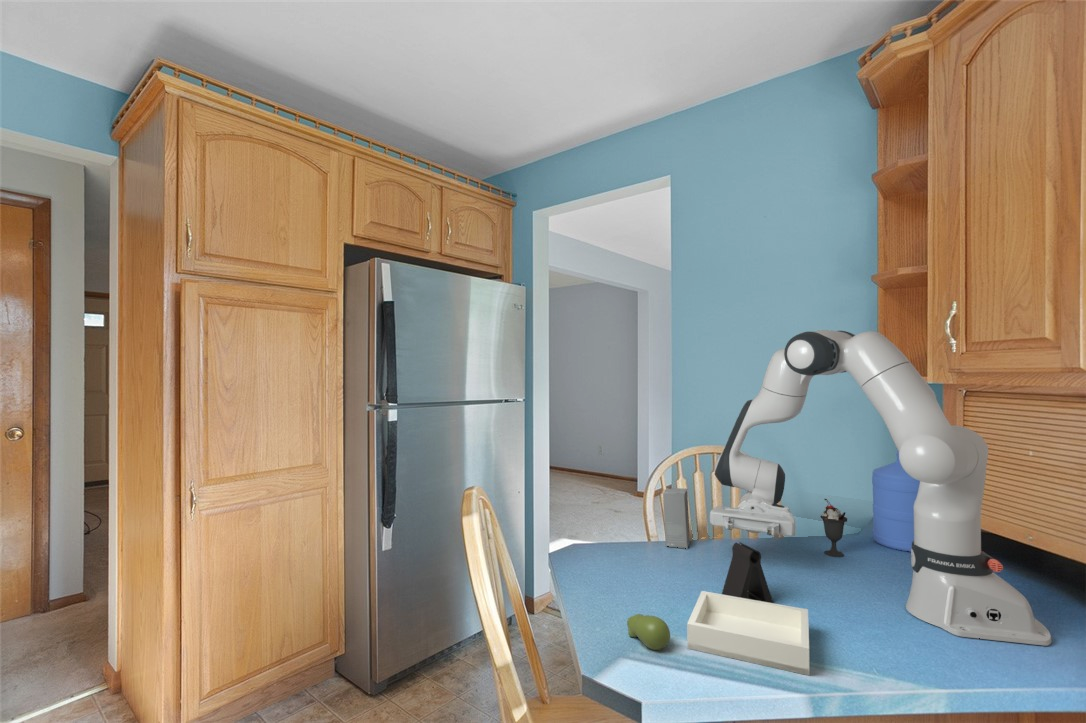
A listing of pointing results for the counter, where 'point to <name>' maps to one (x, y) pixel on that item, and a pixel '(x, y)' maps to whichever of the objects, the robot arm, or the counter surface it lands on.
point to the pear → (649, 630)
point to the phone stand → (746, 575)
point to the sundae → (833, 528)
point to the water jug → (894, 506)
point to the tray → (750, 631)
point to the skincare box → (676, 517)
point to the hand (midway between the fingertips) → (749, 529)
